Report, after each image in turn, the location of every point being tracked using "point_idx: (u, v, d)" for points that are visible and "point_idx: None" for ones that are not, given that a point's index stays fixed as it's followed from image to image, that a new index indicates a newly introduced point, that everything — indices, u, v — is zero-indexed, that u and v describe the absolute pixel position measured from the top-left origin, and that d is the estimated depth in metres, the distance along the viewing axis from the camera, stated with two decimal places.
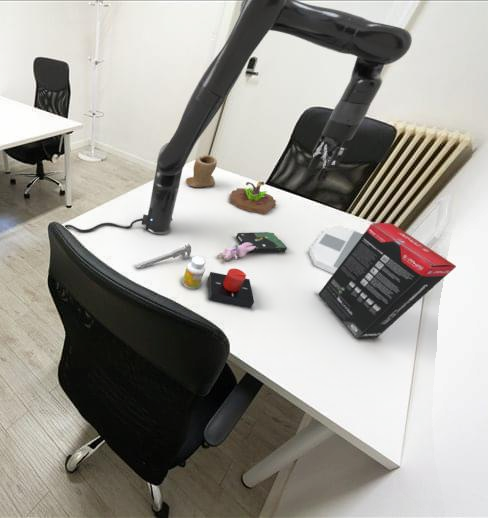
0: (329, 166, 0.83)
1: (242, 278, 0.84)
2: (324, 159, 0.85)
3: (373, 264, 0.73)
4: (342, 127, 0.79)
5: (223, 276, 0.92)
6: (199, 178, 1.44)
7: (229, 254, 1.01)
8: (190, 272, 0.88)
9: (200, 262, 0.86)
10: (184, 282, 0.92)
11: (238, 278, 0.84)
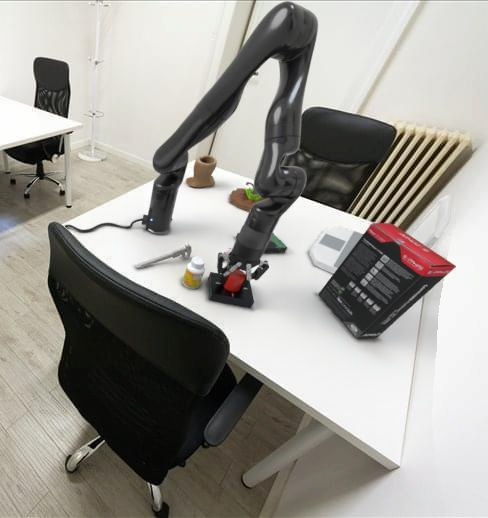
0: (217, 266, 0.86)
1: (242, 278, 0.84)
2: None
3: (373, 264, 0.73)
4: (237, 239, 0.80)
5: None
6: (199, 178, 1.44)
7: None
8: (190, 272, 0.88)
9: (200, 262, 0.86)
10: (184, 282, 0.92)
11: (238, 278, 0.84)
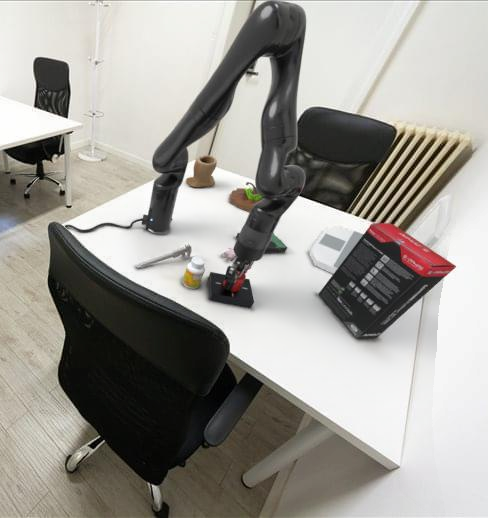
0: (225, 278, 0.82)
1: (244, 274, 0.85)
2: None
3: (373, 264, 0.73)
4: (241, 246, 0.77)
5: (223, 276, 0.92)
6: (199, 178, 1.44)
7: (233, 253, 1.02)
8: (190, 272, 0.88)
9: (200, 262, 0.86)
10: (184, 282, 0.92)
11: (243, 277, 0.84)
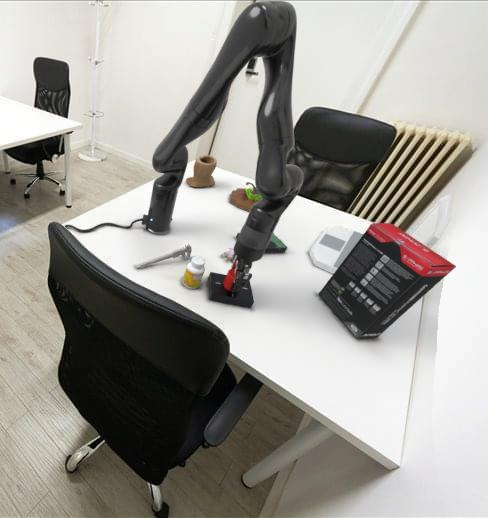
0: (237, 284, 0.81)
1: None
2: (235, 275, 0.82)
3: (373, 264, 0.73)
4: (248, 250, 0.76)
5: (223, 276, 0.92)
6: (199, 178, 1.44)
7: (233, 253, 1.02)
8: (190, 272, 0.88)
9: (200, 262, 0.86)
10: (184, 282, 0.92)
11: None
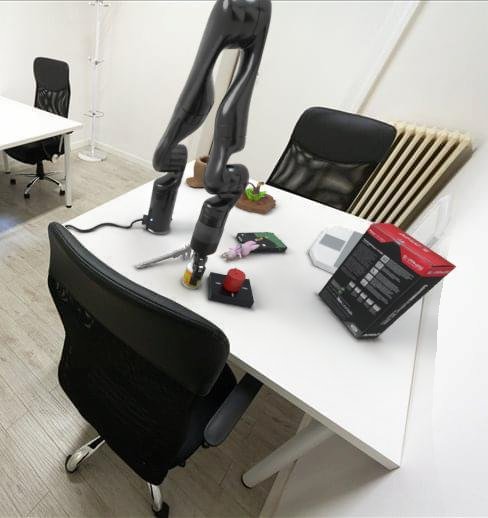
0: (193, 277, 0.84)
1: (241, 271, 0.86)
2: None
3: (373, 264, 0.73)
4: (202, 244, 0.79)
5: (223, 276, 0.92)
6: (199, 178, 1.44)
7: (233, 253, 1.02)
8: (190, 272, 0.88)
9: None
10: (184, 282, 0.92)
11: (243, 274, 0.85)
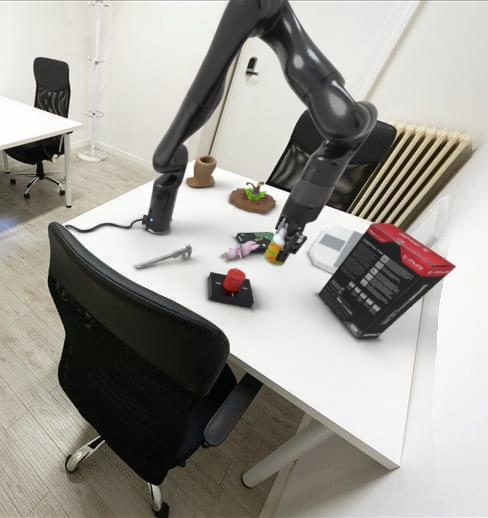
0: (287, 250, 0.71)
1: (241, 271, 0.86)
2: (283, 240, 0.72)
3: (373, 264, 0.73)
4: (303, 209, 0.66)
5: (223, 276, 0.92)
6: (199, 178, 1.44)
7: (233, 253, 1.02)
8: (278, 245, 0.74)
9: None
10: (267, 258, 0.78)
11: (243, 274, 0.85)
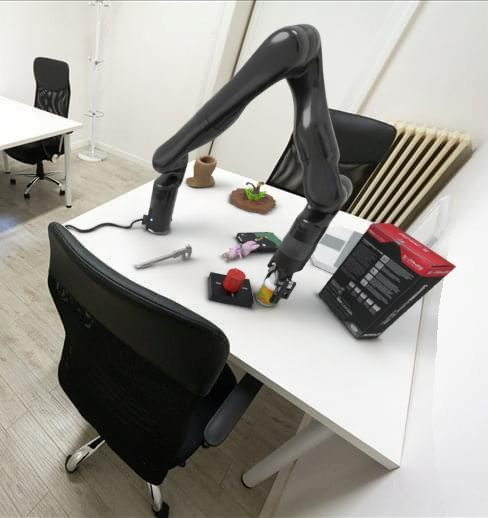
0: (279, 296, 0.78)
1: (241, 271, 0.86)
2: (275, 286, 0.80)
3: (373, 264, 0.73)
4: (291, 261, 0.75)
5: (223, 276, 0.92)
6: (199, 178, 1.44)
7: (234, 253, 1.02)
8: (269, 289, 0.83)
9: None
10: (259, 299, 0.87)
11: (243, 274, 0.85)
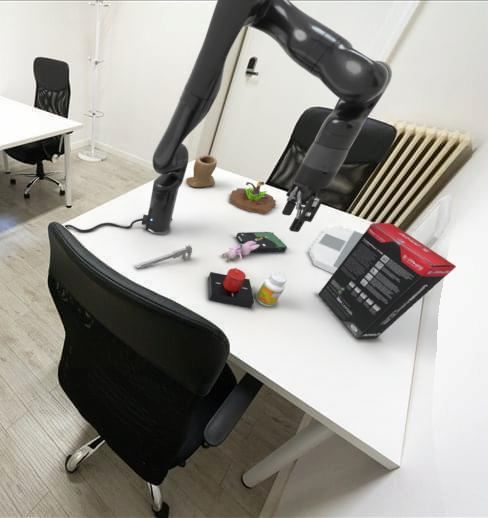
0: (302, 218, 0.70)
1: (241, 271, 0.86)
2: (298, 208, 0.72)
3: (373, 264, 0.73)
4: (317, 174, 0.66)
5: (223, 276, 0.92)
6: (199, 178, 1.44)
7: (234, 253, 1.02)
8: (269, 289, 0.83)
9: (281, 279, 0.82)
10: (259, 299, 0.87)
11: (243, 274, 0.85)
